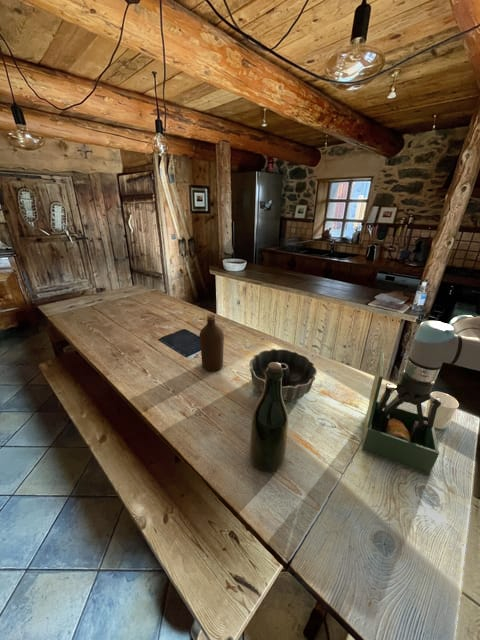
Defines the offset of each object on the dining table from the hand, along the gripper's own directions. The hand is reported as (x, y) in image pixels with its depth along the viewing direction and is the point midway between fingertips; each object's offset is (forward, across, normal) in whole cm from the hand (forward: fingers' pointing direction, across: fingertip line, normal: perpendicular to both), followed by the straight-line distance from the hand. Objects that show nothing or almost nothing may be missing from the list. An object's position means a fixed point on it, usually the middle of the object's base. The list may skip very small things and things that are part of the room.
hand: (396, 435), depth 83 cm
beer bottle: (+4, -34, -23) cm, 41 cm away
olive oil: (+4, -73, +9) cm, 74 cm away
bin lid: (-15, -9, 0) cm, 17 cm away
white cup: (+4, +13, +17) cm, 22 cm away
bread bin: (+4, 0, 0) cm, 4 cm away
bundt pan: (+4, -41, +10) cm, 42 cm away
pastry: (0, 0, 0) cm, 1 cm away
